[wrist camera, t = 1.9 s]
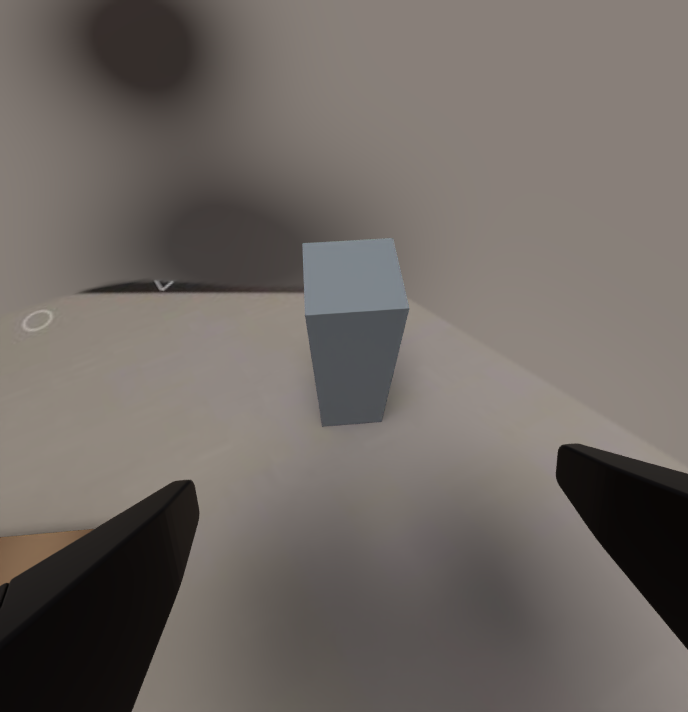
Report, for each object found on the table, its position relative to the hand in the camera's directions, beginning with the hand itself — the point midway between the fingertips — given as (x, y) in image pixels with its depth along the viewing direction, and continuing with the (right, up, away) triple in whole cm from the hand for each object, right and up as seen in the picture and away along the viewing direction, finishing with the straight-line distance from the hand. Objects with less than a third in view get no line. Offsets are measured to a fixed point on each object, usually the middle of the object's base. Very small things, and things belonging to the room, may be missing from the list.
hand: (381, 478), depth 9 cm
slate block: (-1, 0, +16) cm, 16 cm away
